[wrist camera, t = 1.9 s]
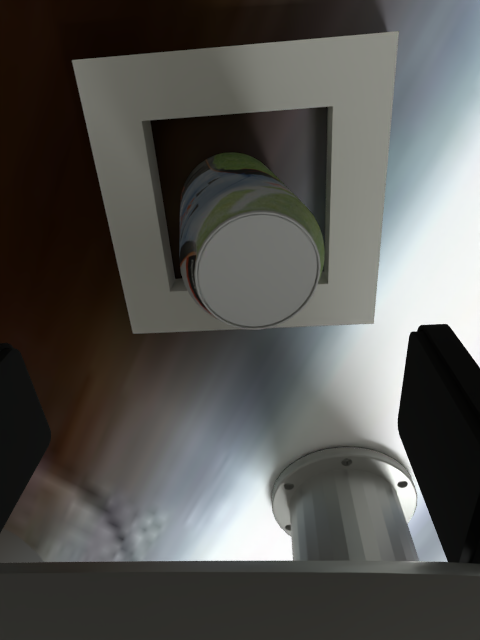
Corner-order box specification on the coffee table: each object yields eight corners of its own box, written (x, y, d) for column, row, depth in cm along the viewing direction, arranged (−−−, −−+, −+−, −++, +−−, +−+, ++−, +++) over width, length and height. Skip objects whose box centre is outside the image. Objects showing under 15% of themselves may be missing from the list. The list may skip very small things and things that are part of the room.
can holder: (367, 309, 30) (373, 323, 29) (140, 319, 32) (133, 333, 30) (388, 34, 23) (398, 31, 21) (85, 61, 24) (71, 59, 22)
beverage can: (170, 165, 26) (111, 226, 16) (291, 129, 25) (314, 171, 15) (202, 260, 29) (171, 366, 19) (312, 233, 28) (344, 329, 17)
